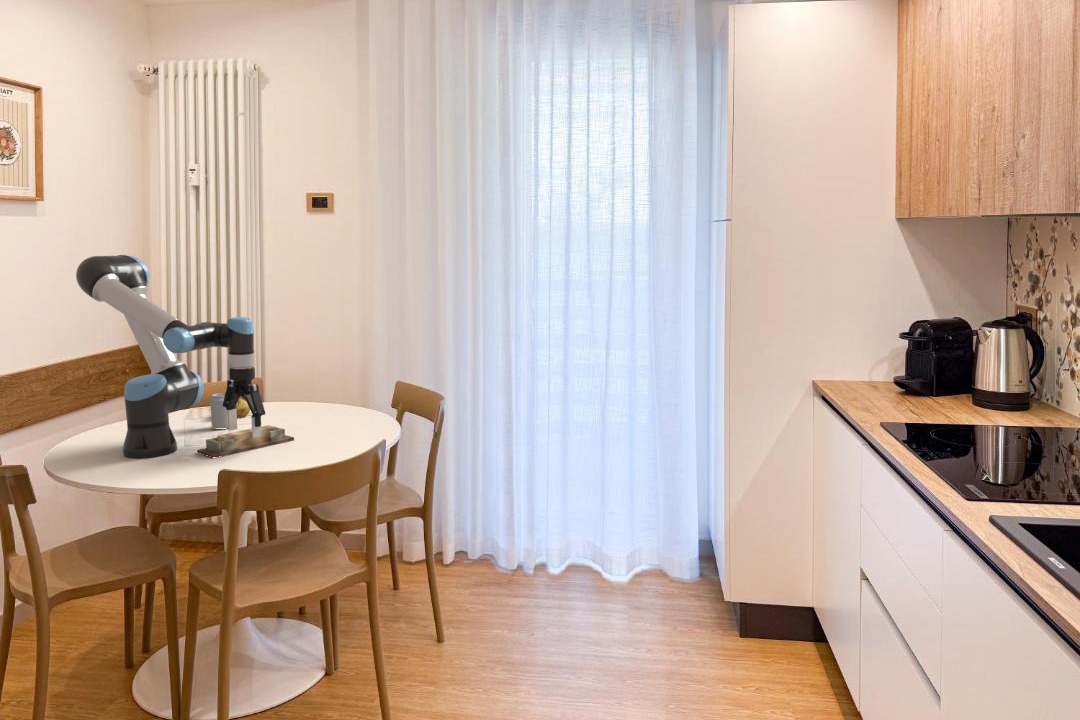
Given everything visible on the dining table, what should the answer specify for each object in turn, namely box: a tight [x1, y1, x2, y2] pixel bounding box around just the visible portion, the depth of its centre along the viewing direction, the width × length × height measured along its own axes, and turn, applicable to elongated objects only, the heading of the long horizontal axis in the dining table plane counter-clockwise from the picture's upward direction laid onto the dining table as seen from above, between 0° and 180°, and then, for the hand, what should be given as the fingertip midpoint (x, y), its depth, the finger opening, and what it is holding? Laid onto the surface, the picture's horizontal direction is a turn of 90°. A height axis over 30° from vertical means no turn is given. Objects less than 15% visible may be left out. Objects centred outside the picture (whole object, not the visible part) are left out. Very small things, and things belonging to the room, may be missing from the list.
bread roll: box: [235, 397, 251, 419], centre depth 303 cm, size 13×10×8 cm
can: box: [209, 392, 228, 429], centre depth 283 cm, size 8×8×12 cm
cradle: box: [196, 426, 295, 458], centre depth 257 cm, size 28×10×4 cm, turn 141°
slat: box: [216, 424, 277, 448], centre depth 257 cm, size 18×4×4 cm, turn 141°
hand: (244, 433), depth 256 cm, fingers open, 13 cm apart
